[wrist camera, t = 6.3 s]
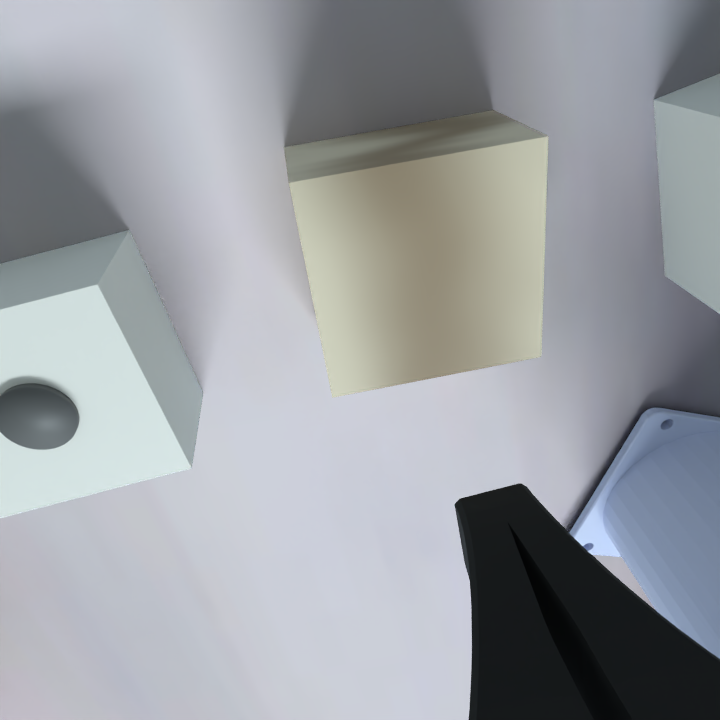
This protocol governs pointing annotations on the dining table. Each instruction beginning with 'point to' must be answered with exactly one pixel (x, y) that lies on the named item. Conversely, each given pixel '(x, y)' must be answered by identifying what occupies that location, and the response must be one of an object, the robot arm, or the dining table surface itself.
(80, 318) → the one-dot block
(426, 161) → the maple block
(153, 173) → the dining table surface
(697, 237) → the two-dot block
